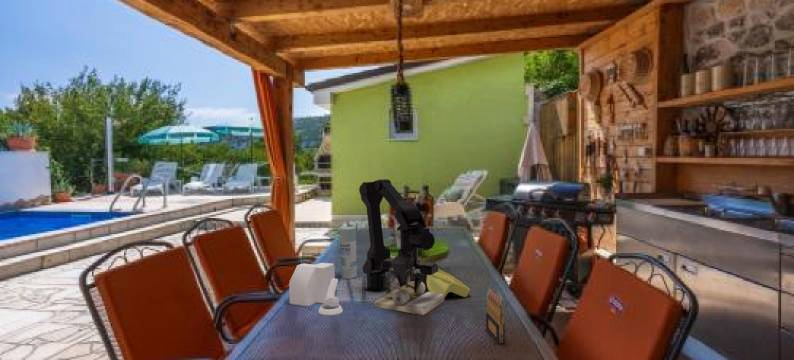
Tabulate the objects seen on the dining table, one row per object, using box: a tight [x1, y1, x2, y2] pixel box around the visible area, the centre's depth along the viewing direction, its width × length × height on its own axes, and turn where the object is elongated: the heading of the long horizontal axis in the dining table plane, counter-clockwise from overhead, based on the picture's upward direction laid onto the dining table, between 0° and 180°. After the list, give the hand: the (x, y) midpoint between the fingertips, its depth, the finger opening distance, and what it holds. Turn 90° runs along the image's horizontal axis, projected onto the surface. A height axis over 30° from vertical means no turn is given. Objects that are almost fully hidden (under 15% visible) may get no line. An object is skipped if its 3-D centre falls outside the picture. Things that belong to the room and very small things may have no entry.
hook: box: [317, 278, 343, 316], centre depth 159 cm, size 8×12×7 cm
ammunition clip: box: [485, 288, 506, 345], centre depth 134 cm, size 11×2×12 cm, turn 7°
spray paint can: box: [338, 226, 358, 280], centre depth 199 cm, size 6×6×20 cm
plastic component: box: [426, 268, 471, 298], centre depth 178 cm, size 20×7×10 cm
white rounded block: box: [288, 262, 336, 307], centre depth 168 cm, size 11×11×12 cm
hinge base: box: [373, 281, 445, 316], centre depth 164 cm, size 18×16×6 cm
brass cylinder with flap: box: [386, 280, 420, 297], centre depth 165 cm, size 6×9×4 cm, turn 61°
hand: (409, 291), depth 164 cm, fingers closed on brass cylinder with flap, 4 cm apart
